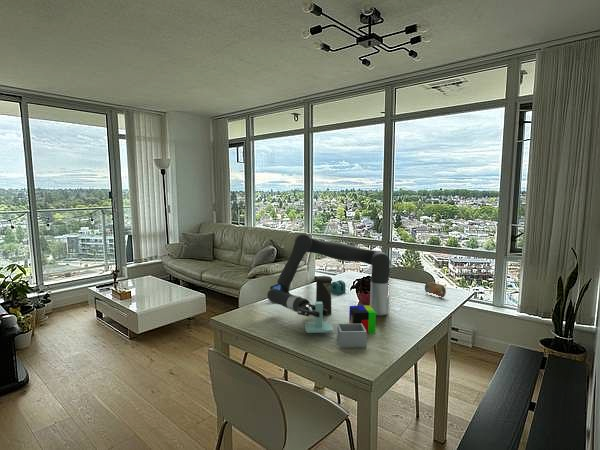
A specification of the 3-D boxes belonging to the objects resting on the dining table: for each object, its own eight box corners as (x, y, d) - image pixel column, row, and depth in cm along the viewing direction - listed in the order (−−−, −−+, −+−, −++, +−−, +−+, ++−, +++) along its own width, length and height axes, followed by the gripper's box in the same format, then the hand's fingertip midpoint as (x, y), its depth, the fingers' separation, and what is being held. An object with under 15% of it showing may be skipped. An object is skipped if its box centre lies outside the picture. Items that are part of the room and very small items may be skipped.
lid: (330, 323, 163) (330, 299, 162) (332, 332, 153) (333, 306, 152) (304, 323, 162) (305, 299, 161) (306, 332, 152) (306, 306, 151)
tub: (361, 338, 152) (361, 323, 151) (366, 347, 143) (366, 331, 143) (337, 338, 152) (337, 323, 151) (340, 348, 143) (340, 332, 142)
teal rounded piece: (345, 293, 221) (345, 281, 221) (338, 295, 217) (338, 283, 216) (325, 287, 235) (325, 276, 234) (318, 289, 230) (318, 277, 229)
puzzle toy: (349, 325, 167) (349, 305, 166) (369, 325, 168) (369, 305, 167) (354, 334, 157) (354, 313, 156) (375, 333, 158) (375, 312, 157)
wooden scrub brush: (424, 293, 222) (424, 280, 221) (427, 292, 223) (428, 280, 222) (442, 299, 208) (443, 286, 208) (446, 299, 210) (447, 285, 209)
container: (330, 316, 179) (331, 279, 177) (313, 315, 181) (314, 278, 179) (332, 311, 187) (333, 275, 185) (316, 309, 189) (316, 274, 187)
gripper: (286, 299, 162) (312, 309, 150) (308, 294, 172) (333, 302, 159) (286, 315, 163) (311, 325, 150) (308, 308, 173) (333, 318, 160)
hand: (323, 313), depth 155 cm, fingers closed on lid, 4 cm apart
